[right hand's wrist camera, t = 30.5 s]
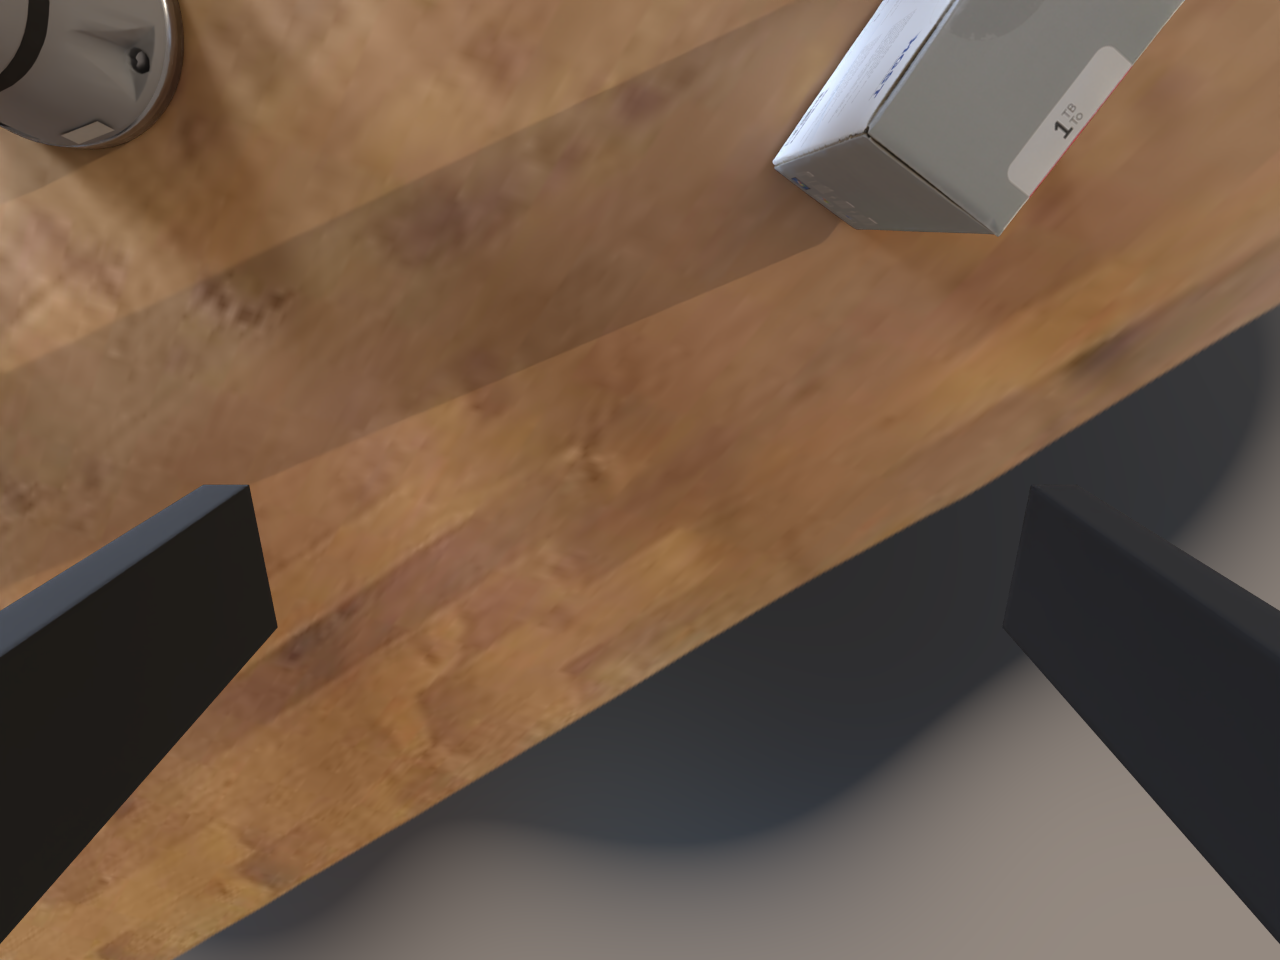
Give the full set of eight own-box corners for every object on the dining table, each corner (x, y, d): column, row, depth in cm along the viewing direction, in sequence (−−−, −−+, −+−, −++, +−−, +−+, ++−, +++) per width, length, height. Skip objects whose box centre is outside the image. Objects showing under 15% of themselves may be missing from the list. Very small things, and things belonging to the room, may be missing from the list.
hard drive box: (858, 234, 49) (993, 246, 30) (768, 165, 47) (851, 134, 29) (1020, 12, 44) (1297, -134, 26) (926, -71, 43) (1148, -290, 24)
